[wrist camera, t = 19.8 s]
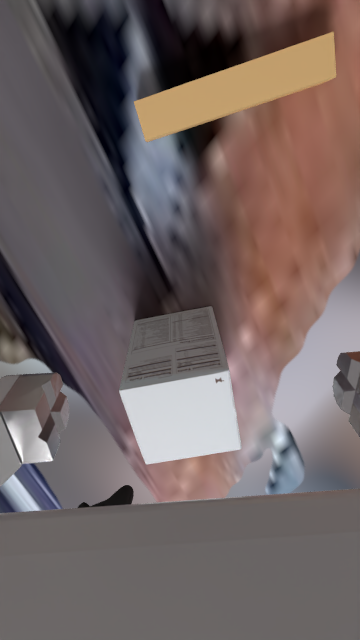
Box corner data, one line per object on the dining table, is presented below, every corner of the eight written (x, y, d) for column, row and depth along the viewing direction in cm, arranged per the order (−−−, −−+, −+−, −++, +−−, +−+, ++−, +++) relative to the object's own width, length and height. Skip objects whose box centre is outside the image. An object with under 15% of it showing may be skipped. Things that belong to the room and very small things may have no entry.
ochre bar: (318, 43, 37) (333, 31, 34) (321, 84, 39) (336, 77, 35) (136, 106, 39) (133, 101, 36) (147, 142, 41) (145, 141, 38)
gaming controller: (124, 474, 69) (118, 522, 60) (139, 490, 72) (135, 538, 63) (71, 496, 72) (57, 545, 63) (87, 511, 75) (76, 559, 66)
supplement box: (132, 319, 52) (116, 389, 37) (212, 304, 51) (230, 368, 36) (151, 383, 58) (144, 466, 43) (223, 370, 57) (243, 451, 42)
